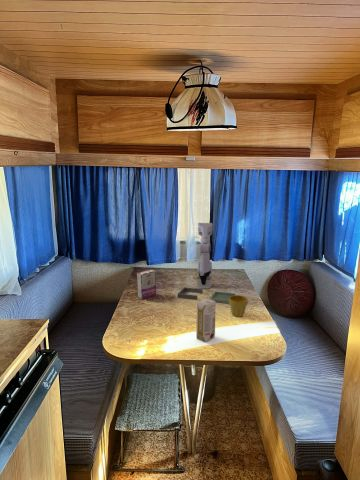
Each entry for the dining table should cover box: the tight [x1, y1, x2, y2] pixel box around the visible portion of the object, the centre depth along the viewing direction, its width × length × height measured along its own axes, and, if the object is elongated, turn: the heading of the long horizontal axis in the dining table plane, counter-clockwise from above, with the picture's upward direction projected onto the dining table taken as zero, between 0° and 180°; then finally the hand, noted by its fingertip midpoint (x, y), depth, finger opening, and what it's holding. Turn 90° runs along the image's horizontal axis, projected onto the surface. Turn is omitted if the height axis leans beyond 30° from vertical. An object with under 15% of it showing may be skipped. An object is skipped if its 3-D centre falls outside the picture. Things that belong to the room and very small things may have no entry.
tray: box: [209, 290, 237, 305], centre depth 229 cm, size 14×14×2 cm
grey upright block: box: [196, 276, 213, 289], centre depth 231 cm, size 5×8×6 cm, turn 71°
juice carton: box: [195, 297, 217, 343], centre depth 176 cm, size 8×9×19 cm
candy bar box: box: [136, 269, 157, 300], centre depth 232 cm, size 11×5×16 cm, turn 129°
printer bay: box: [177, 286, 204, 301], centre depth 235 cm, size 13×13×2 cm
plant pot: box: [228, 294, 249, 318], centre depth 204 cm, size 10×10×10 cm
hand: (204, 283), depth 231 cm, fingers closed on grey upright block, 4 cm apart
